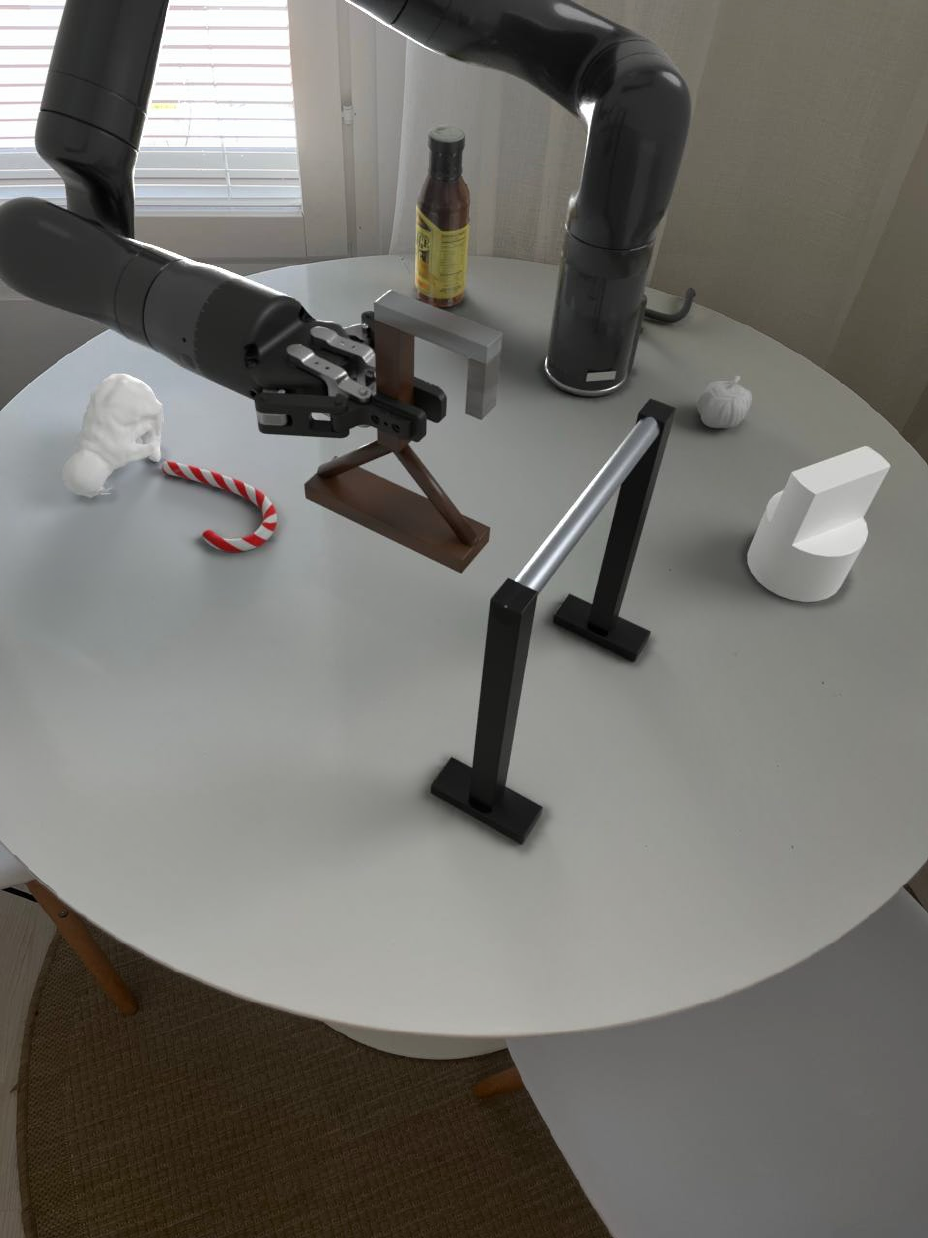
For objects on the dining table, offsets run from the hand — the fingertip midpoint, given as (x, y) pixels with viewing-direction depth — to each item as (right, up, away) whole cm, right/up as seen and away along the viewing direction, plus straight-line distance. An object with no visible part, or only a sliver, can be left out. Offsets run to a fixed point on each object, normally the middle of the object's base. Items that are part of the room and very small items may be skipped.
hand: (433, 417), depth 59 cm
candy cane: (-22, -2, +28) cm, 36 cm away
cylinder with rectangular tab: (+33, -8, +27) cm, 44 cm away
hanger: (-3, -6, +9) cm, 11 cm away
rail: (+9, -21, +15) cm, 27 cm away
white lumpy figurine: (-32, +1, +31) cm, 45 cm away
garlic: (+30, +9, +41) cm, 51 cm away
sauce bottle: (-1, +27, +54) cm, 60 cm away
